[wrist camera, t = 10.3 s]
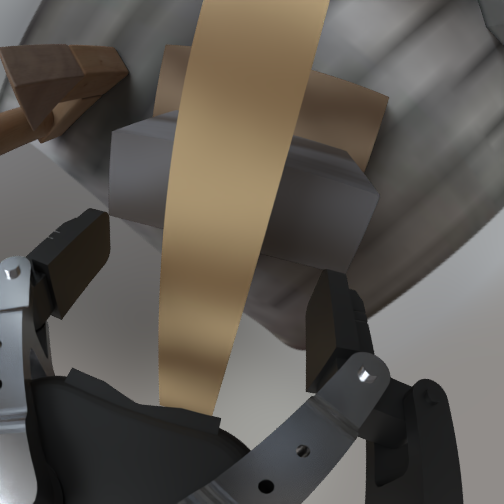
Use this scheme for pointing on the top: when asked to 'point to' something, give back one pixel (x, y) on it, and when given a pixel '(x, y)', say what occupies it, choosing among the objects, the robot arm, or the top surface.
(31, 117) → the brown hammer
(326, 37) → the top surface
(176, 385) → the oak bar
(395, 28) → the top surface
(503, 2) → the coffee maker
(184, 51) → the ridge stand
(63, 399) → the robot arm
